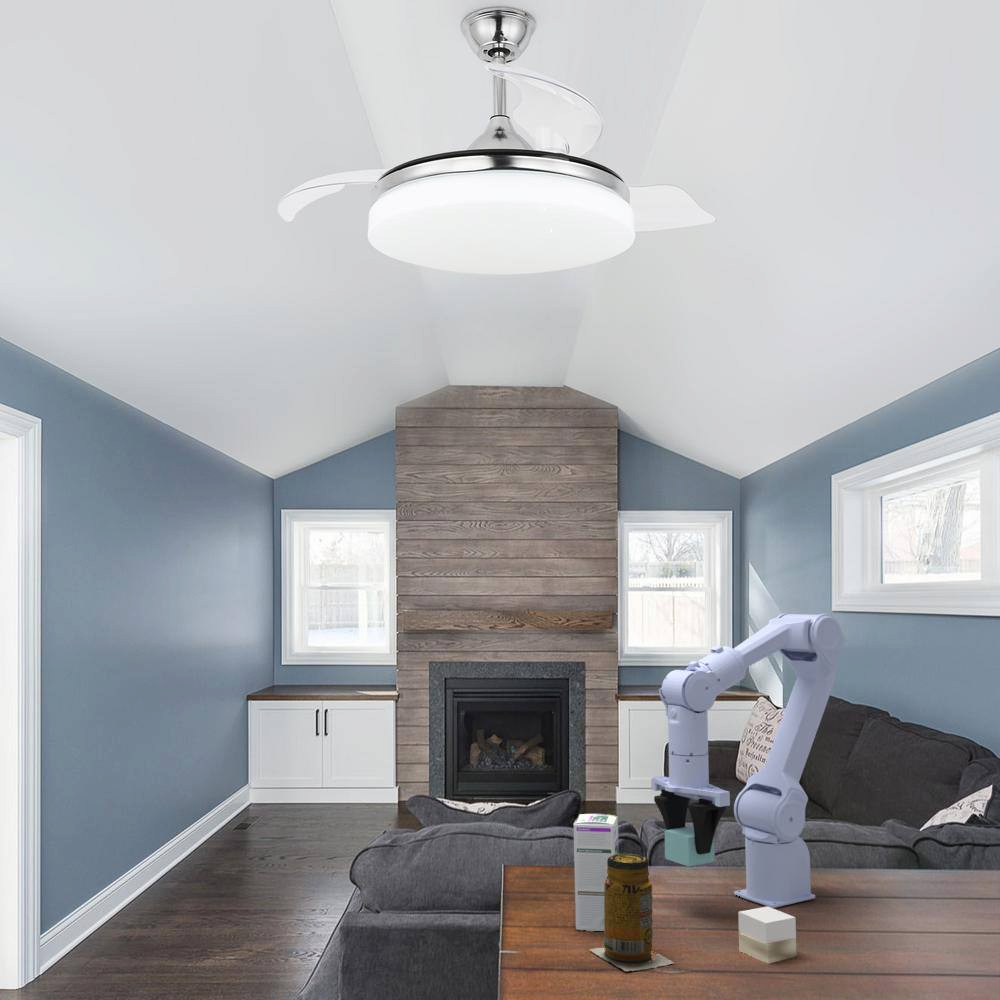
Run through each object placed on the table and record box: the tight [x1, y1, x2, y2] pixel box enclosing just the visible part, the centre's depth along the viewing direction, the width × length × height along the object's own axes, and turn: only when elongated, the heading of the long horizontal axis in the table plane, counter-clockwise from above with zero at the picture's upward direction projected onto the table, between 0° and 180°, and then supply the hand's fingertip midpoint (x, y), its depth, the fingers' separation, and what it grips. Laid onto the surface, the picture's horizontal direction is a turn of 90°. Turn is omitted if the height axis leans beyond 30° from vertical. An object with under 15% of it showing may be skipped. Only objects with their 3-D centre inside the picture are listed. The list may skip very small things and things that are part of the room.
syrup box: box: [573, 813, 620, 932], centre depth 136 cm, size 6×6×14 cm
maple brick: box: [738, 932, 797, 965], centre depth 125 cm, size 5×5×2 cm
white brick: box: [738, 906, 797, 944], centre depth 125 cm, size 5×5×2 cm
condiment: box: [589, 853, 675, 972], centre depth 124 cm, size 7×8×12 cm
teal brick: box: [664, 826, 716, 867], centre depth 142 cm, size 5×5×4 cm
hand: (690, 848), depth 142 cm, fingers closed on teal brick, 5 cm apart
